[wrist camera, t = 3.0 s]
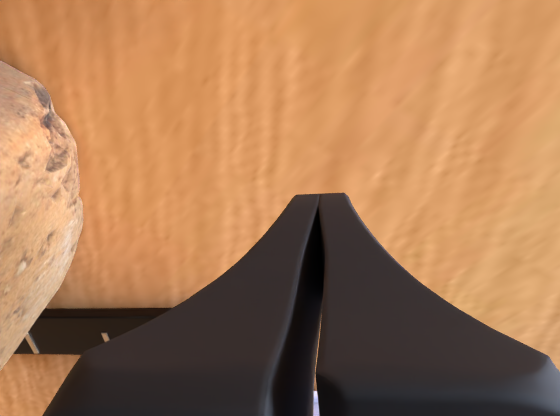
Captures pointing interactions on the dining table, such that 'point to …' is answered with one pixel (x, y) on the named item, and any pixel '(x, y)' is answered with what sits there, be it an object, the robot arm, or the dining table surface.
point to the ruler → (81, 328)
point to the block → (33, 204)
